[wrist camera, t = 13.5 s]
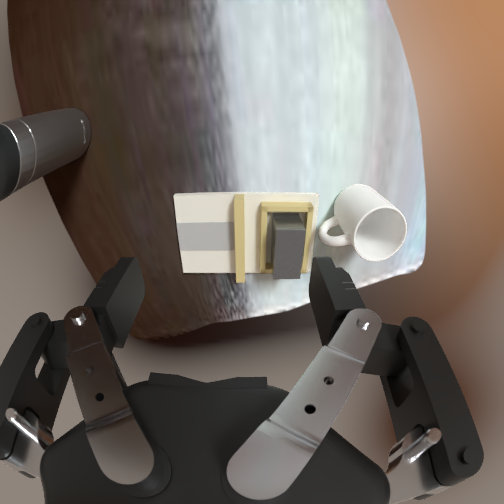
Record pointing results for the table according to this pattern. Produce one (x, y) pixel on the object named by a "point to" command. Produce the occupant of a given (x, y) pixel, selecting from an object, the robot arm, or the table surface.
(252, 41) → the table surface
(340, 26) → the table surface
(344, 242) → the mug
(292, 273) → the block
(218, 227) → the white fixture board
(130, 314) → the robot arm
